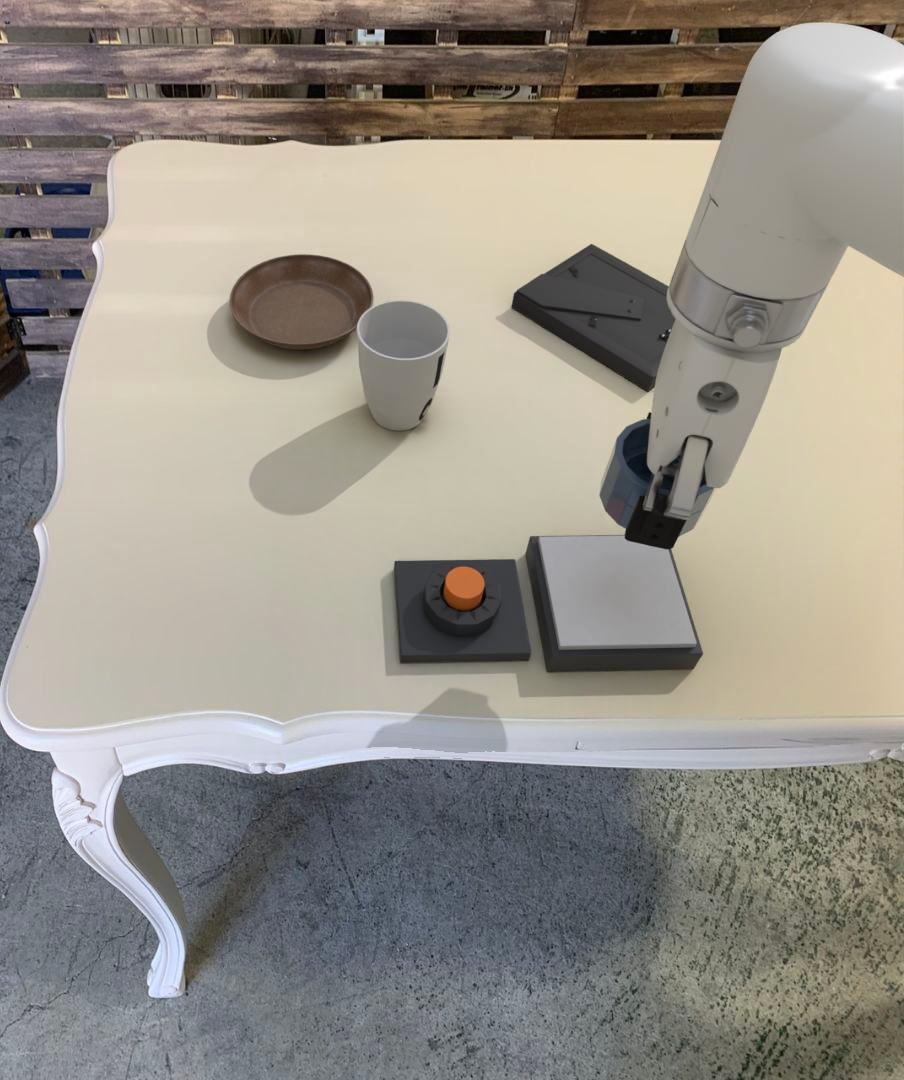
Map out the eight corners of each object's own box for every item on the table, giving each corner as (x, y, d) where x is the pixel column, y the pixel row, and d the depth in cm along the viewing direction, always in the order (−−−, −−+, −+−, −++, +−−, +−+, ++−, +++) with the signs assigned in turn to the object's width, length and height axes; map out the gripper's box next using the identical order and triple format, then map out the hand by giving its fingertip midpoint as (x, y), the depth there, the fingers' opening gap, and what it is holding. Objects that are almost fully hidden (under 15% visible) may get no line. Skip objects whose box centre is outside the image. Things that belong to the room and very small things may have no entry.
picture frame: (511, 307, 96) (647, 392, 89) (514, 290, 94) (654, 375, 87) (587, 258, 102) (722, 333, 94) (591, 240, 100) (729, 316, 93)
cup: (441, 443, 84) (451, 361, 76) (354, 441, 84) (355, 358, 76) (438, 384, 89) (448, 301, 81) (356, 381, 89) (358, 298, 81)
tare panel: (512, 567, 75) (518, 545, 73) (528, 661, 70) (535, 640, 67) (393, 568, 75) (395, 547, 72) (400, 663, 69) (402, 643, 67)
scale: (658, 551, 76) (669, 529, 74) (693, 669, 69) (706, 649, 67) (525, 553, 76) (531, 531, 74) (546, 672, 69) (554, 652, 67)
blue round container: (700, 479, 64) (725, 430, 60) (696, 554, 60) (722, 506, 56) (603, 458, 65) (620, 409, 61) (592, 531, 61) (610, 482, 57)
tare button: (479, 579, 71) (482, 566, 70) (483, 610, 69) (486, 598, 68) (441, 579, 71) (443, 566, 70) (445, 611, 69) (447, 598, 68)
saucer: (209, 345, 91) (206, 324, 89) (262, 263, 100) (260, 241, 98) (347, 377, 89) (347, 356, 87) (389, 290, 98) (390, 268, 96)
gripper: (824, 408, 43) (701, 613, 57) (811, 210, 53) (710, 424, 67) (664, 377, 44) (583, 585, 58) (682, 188, 54) (609, 404, 68)
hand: (652, 497), depth 62 cm, fingers closed on blue round container, 7 cm apart
